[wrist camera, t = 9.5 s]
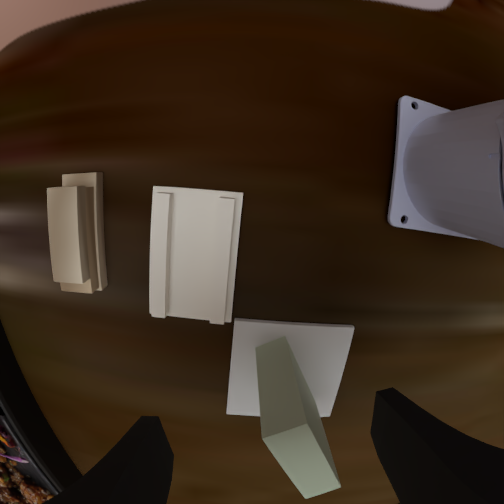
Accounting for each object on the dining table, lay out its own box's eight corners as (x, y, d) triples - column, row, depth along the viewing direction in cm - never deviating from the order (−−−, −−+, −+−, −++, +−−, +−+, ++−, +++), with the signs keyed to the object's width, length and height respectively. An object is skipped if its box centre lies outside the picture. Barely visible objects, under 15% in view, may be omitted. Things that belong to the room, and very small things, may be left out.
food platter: (-103, 304, 20) (-152, 333, 10) (-4, 291, 19) (-90, 345, 9) (38, 528, 30) (22, 565, 20) (158, 557, 30) (151, 606, 20)
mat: (352, 324, 20) (354, 327, 20) (328, 413, 22) (329, 416, 21) (234, 317, 20) (234, 320, 19) (226, 410, 21) (226, 414, 21)
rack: (243, 192, 18) (243, 194, 16) (231, 318, 20) (230, 329, 18) (155, 185, 18) (148, 186, 16) (151, 310, 19) (145, 320, 18)
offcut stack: (104, 172, 18) (79, 172, 14) (109, 284, 19) (87, 303, 16) (71, 174, 17) (43, 175, 14) (77, 282, 19) (53, 299, 16)
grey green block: (285, 335, 19) (307, 423, 12) (315, 400, 21) (341, 487, 13) (255, 347, 20) (262, 438, 12) (288, 410, 21) (305, 498, 13)
